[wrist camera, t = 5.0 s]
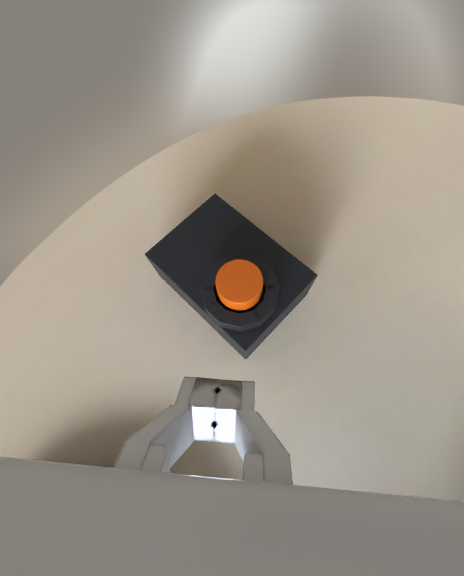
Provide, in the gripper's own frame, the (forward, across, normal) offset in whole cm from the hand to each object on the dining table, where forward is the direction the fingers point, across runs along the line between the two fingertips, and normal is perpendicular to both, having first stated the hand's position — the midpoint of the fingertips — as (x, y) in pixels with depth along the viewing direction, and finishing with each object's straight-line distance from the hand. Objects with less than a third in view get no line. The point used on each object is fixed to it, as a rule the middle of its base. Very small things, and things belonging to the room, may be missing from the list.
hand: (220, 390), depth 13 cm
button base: (+22, +1, +5) cm, 23 cm away
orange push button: (+15, 0, +2) cm, 15 cm away
